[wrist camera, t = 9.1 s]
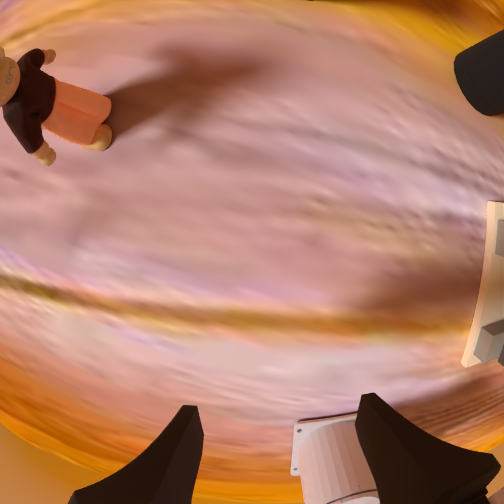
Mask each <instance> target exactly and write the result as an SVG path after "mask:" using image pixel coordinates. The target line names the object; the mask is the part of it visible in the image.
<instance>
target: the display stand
mask: <svg viewBox="0 0 504 504" xmlns="http://www.w3.org/2000/svg"><path fill="white" fill-rule="evenodd" d="M503 345H504V202H494V201H488V210H487V231H486V244H485V254H484V262H483V270H482V277H481V283H480V289H479V294H478V299H477V304H476V309H475V314H474V318H473V322H472V326H471V330H470V334H469V337H468V341H467V345H466V348H465V351H464V354H463V358H462V361H461V364H462V365H463V366H464V367H465V368H467V367H470V366H472V365H475V364H478V363H480V362H483V363H484V364H485V363H488V362H490V361H492V360H495V359H497V358H499V356H500V354H501V351H502V348H503Z"/></svg>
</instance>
